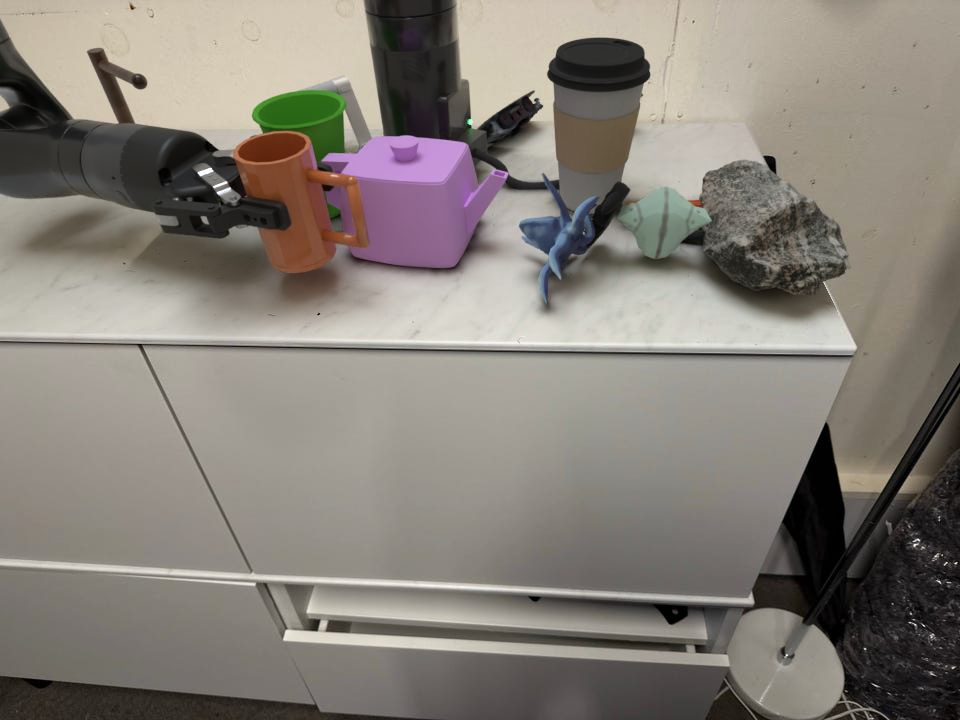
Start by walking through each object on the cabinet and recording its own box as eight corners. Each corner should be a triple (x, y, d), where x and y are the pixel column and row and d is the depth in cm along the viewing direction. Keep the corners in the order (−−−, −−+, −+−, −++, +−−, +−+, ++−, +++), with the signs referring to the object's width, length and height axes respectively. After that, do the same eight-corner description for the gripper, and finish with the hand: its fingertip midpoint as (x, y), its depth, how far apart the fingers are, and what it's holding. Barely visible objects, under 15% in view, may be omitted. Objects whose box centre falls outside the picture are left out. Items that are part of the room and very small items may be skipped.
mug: (255, 266, 55) (216, 158, 48) (294, 231, 58) (263, 127, 52) (356, 288, 51) (331, 176, 45) (390, 250, 55) (371, 142, 49)
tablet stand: (325, 181, 72) (308, 109, 66) (289, 161, 76) (271, 92, 71) (384, 156, 76) (373, 86, 70) (347, 139, 80) (334, 71, 75)
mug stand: (104, 155, 80) (55, 52, 71) (152, 138, 83) (110, 38, 75) (154, 188, 73) (106, 77, 64) (205, 167, 76) (165, 60, 68)
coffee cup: (642, 187, 68) (664, 39, 57) (618, 230, 61) (638, 72, 51) (560, 174, 71) (567, 31, 61) (530, 213, 65) (532, 61, 54)
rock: (892, 270, 51) (866, 199, 44) (795, 348, 53) (757, 292, 47) (749, 179, 64) (712, 113, 57) (676, 246, 66) (633, 190, 60)
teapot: (519, 221, 64) (519, 122, 57) (494, 280, 56) (491, 175, 49) (358, 205, 68) (339, 111, 61) (315, 258, 60) (288, 158, 53)
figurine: (551, 322, 53) (480, 278, 56) (621, 250, 59) (555, 214, 62) (570, 239, 46) (488, 193, 48) (649, 166, 52) (571, 129, 54)
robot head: (611, 267, 57) (619, 200, 52) (610, 242, 60) (618, 177, 55) (701, 271, 56) (718, 203, 51) (696, 246, 59) (712, 179, 54)
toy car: (478, 122, 71) (494, 145, 72) (547, 75, 76) (562, 97, 76) (454, 152, 79) (468, 173, 80) (517, 108, 83) (531, 128, 84)
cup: (378, 194, 69) (361, 93, 62) (340, 236, 63) (316, 129, 56) (308, 184, 72) (284, 86, 64) (264, 224, 65) (232, 120, 58)
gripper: (67, 166, 48) (241, 197, 43) (192, 98, 58) (346, 117, 53) (111, 247, 54) (271, 283, 49) (219, 172, 63) (362, 196, 58)
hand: (309, 196), depth 51 cm, fingers closed on mug, 6 cm apart
